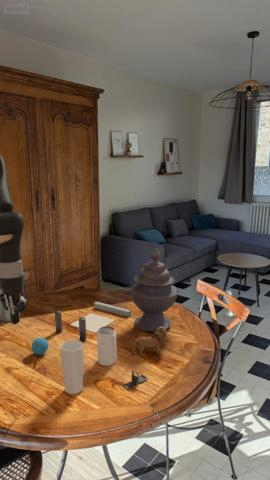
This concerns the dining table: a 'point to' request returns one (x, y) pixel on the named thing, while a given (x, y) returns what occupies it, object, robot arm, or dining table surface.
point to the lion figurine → (151, 341)
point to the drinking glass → (72, 365)
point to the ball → (39, 346)
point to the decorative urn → (153, 294)
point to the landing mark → (94, 322)
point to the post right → (82, 329)
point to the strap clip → (135, 380)
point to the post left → (58, 321)
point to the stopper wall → (112, 309)
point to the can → (106, 345)
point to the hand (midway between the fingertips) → (15, 323)
